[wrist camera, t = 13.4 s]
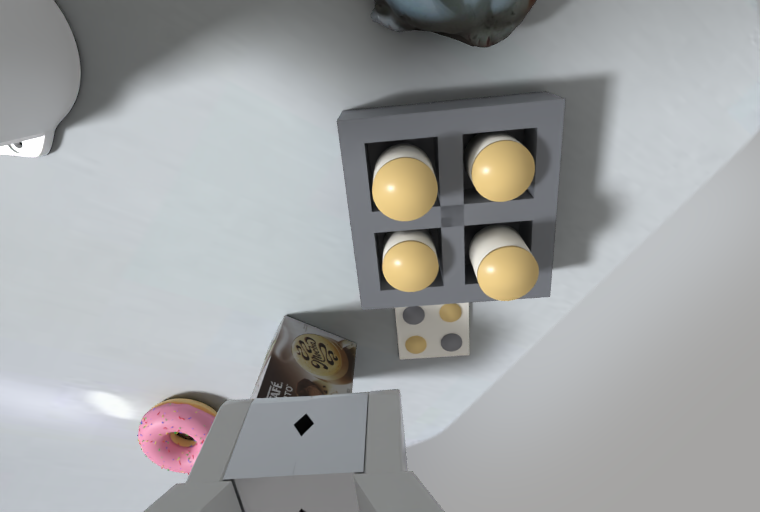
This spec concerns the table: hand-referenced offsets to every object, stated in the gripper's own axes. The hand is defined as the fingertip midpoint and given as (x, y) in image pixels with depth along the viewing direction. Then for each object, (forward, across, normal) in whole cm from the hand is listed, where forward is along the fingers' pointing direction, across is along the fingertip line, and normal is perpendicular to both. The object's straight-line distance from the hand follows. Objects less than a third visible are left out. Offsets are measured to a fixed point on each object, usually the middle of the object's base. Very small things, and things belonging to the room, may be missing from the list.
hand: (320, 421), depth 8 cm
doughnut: (+38, +28, +37) cm, 59 cm away
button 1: (+33, -2, +5) cm, 33 cm away
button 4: (+33, -10, +13) cm, 37 cm away
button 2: (+35, -2, +13) cm, 38 cm away
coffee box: (+37, +10, +26) cm, 46 cm away
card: (+37, -4, +24) cm, 44 cm away
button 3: (+35, -10, +5) cm, 37 cm away
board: (+37, -6, +9) cm, 38 cm away
